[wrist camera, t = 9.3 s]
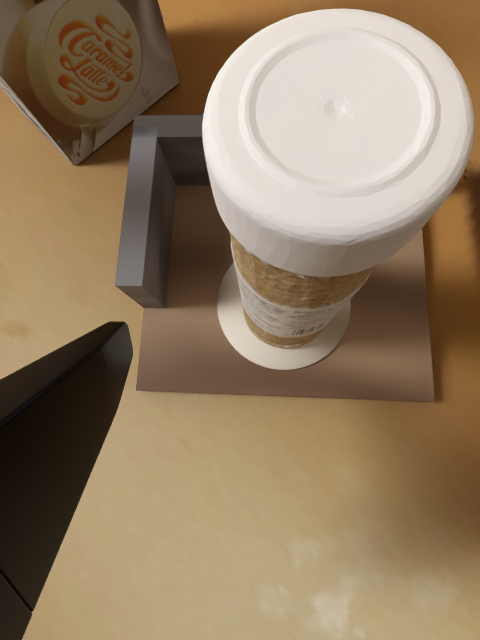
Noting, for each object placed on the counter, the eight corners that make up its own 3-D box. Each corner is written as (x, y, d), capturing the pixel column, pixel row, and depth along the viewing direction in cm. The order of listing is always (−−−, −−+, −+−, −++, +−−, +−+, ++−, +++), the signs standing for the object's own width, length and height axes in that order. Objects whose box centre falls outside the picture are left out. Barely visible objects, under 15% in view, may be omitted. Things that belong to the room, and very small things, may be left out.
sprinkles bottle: (314, 258, 19) (428, -35, 6) (339, 339, 18) (536, 193, 5) (232, 278, 19) (172, 29, 6) (252, 360, 18) (233, 270, 5)
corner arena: (425, 401, 19) (484, 402, 14) (142, 390, 20) (103, 388, 15) (410, 177, 21) (454, 112, 17) (161, 177, 22) (134, 115, 17)
